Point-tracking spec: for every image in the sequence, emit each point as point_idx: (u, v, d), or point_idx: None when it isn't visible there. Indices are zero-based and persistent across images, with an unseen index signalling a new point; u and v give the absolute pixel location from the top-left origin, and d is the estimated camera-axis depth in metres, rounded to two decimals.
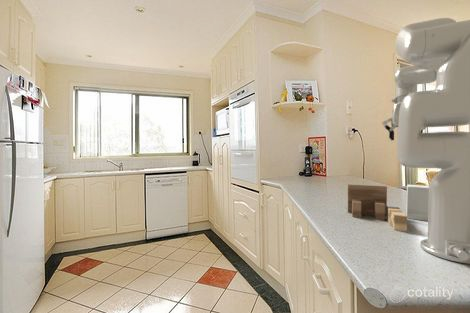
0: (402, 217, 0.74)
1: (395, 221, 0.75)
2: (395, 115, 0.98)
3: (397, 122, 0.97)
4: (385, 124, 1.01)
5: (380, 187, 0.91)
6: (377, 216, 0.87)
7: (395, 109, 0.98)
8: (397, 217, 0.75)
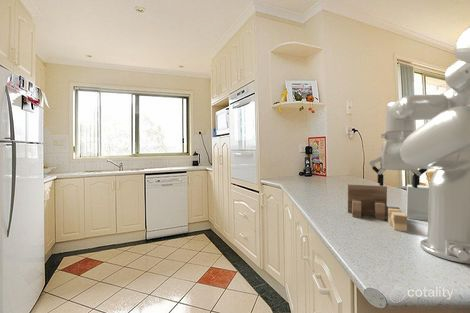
0: (402, 217, 0.74)
1: (395, 221, 0.75)
2: (385, 155, 0.77)
3: (387, 164, 0.76)
4: (372, 165, 0.80)
5: (380, 187, 0.91)
6: (377, 216, 0.87)
7: (385, 148, 0.77)
8: (397, 217, 0.75)
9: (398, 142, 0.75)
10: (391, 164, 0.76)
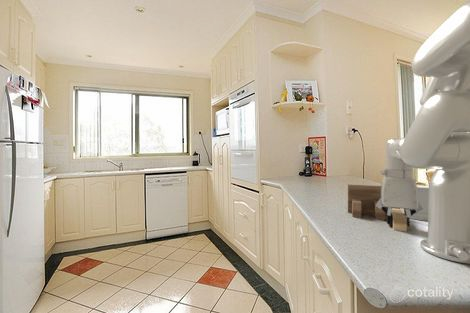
0: (402, 217, 0.74)
1: (395, 221, 0.75)
2: (385, 193, 0.77)
3: (387, 202, 0.76)
4: (380, 206, 0.79)
5: (380, 187, 0.91)
6: (377, 216, 0.87)
7: (385, 185, 0.77)
8: (397, 217, 0.75)
9: (398, 180, 0.75)
10: (391, 202, 0.76)
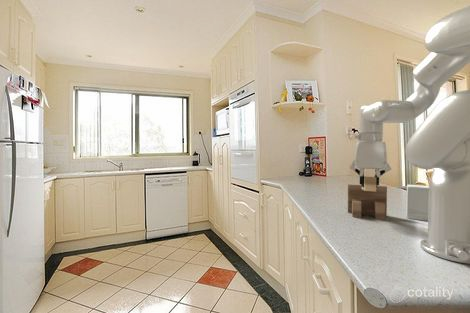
0: (372, 178, 0.80)
1: (366, 182, 0.81)
2: (357, 155, 0.83)
3: (359, 163, 0.83)
4: (353, 168, 0.86)
5: (380, 187, 0.91)
6: (377, 216, 0.87)
7: (357, 148, 0.83)
8: (368, 178, 0.81)
9: (369, 143, 0.81)
10: (363, 163, 0.82)
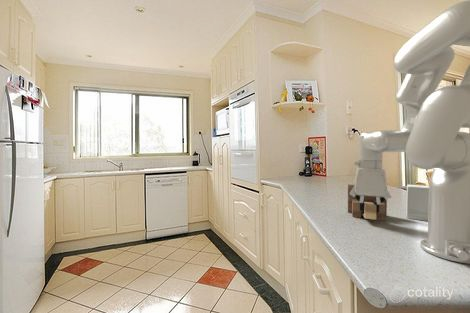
0: (372, 206, 0.81)
1: (366, 210, 0.81)
2: (357, 182, 0.83)
3: (359, 190, 0.83)
4: (353, 194, 0.86)
5: None
6: (377, 216, 0.87)
7: (357, 175, 0.83)
8: (368, 206, 0.81)
9: (369, 170, 0.82)
10: (363, 190, 0.83)
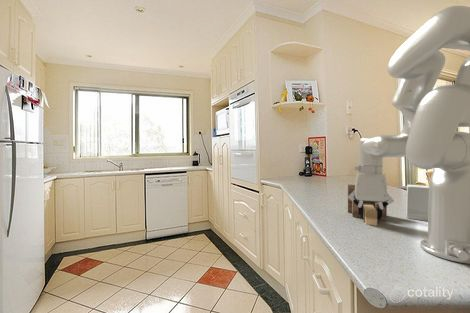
0: (373, 212, 0.80)
1: (366, 216, 0.81)
2: (357, 187, 0.83)
3: (360, 196, 0.83)
4: (352, 199, 0.86)
5: None
6: None
7: (358, 180, 0.83)
8: (368, 212, 0.80)
9: (369, 175, 0.82)
10: (363, 195, 0.82)
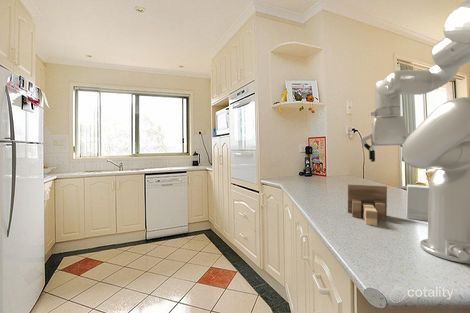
0: (373, 212, 0.80)
1: (367, 216, 0.81)
2: (375, 131, 0.80)
3: (378, 140, 0.79)
4: (364, 142, 0.83)
5: (380, 187, 0.91)
6: (377, 216, 0.87)
7: (375, 124, 0.80)
8: (368, 212, 0.80)
9: (387, 118, 0.78)
10: (381, 139, 0.79)
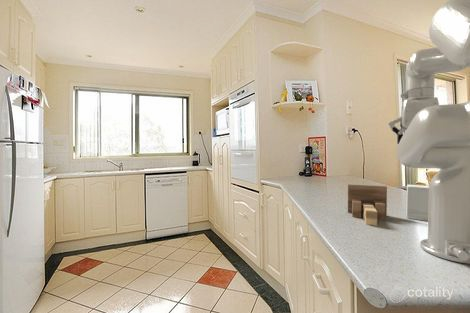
0: (373, 212, 0.80)
1: (366, 216, 0.81)
2: (405, 114, 0.76)
3: (408, 123, 0.75)
4: (392, 125, 0.79)
5: (380, 187, 0.91)
6: (377, 216, 0.87)
7: (405, 106, 0.76)
8: (368, 212, 0.80)
9: (419, 99, 0.74)
10: None
